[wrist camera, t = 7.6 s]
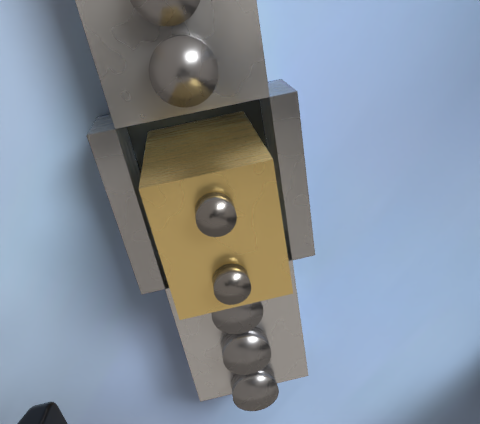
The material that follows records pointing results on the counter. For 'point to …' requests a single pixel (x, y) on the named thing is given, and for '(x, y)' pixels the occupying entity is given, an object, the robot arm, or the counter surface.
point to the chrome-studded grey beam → (185, 102)
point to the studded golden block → (215, 214)
